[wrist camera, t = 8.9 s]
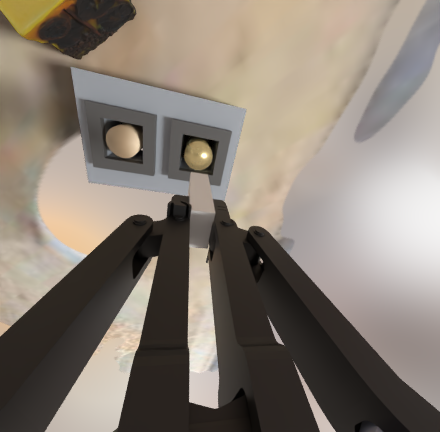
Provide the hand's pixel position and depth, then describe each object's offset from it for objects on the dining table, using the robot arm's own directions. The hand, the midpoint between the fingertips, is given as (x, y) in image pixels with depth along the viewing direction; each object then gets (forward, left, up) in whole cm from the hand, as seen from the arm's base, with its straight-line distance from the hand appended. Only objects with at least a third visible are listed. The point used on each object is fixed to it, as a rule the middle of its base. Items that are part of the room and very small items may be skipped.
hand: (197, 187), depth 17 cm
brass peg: (0, 0, -19) cm, 19 cm away
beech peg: (-10, 0, -19) cm, 21 cm away
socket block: (-5, 0, -19) cm, 19 cm away
